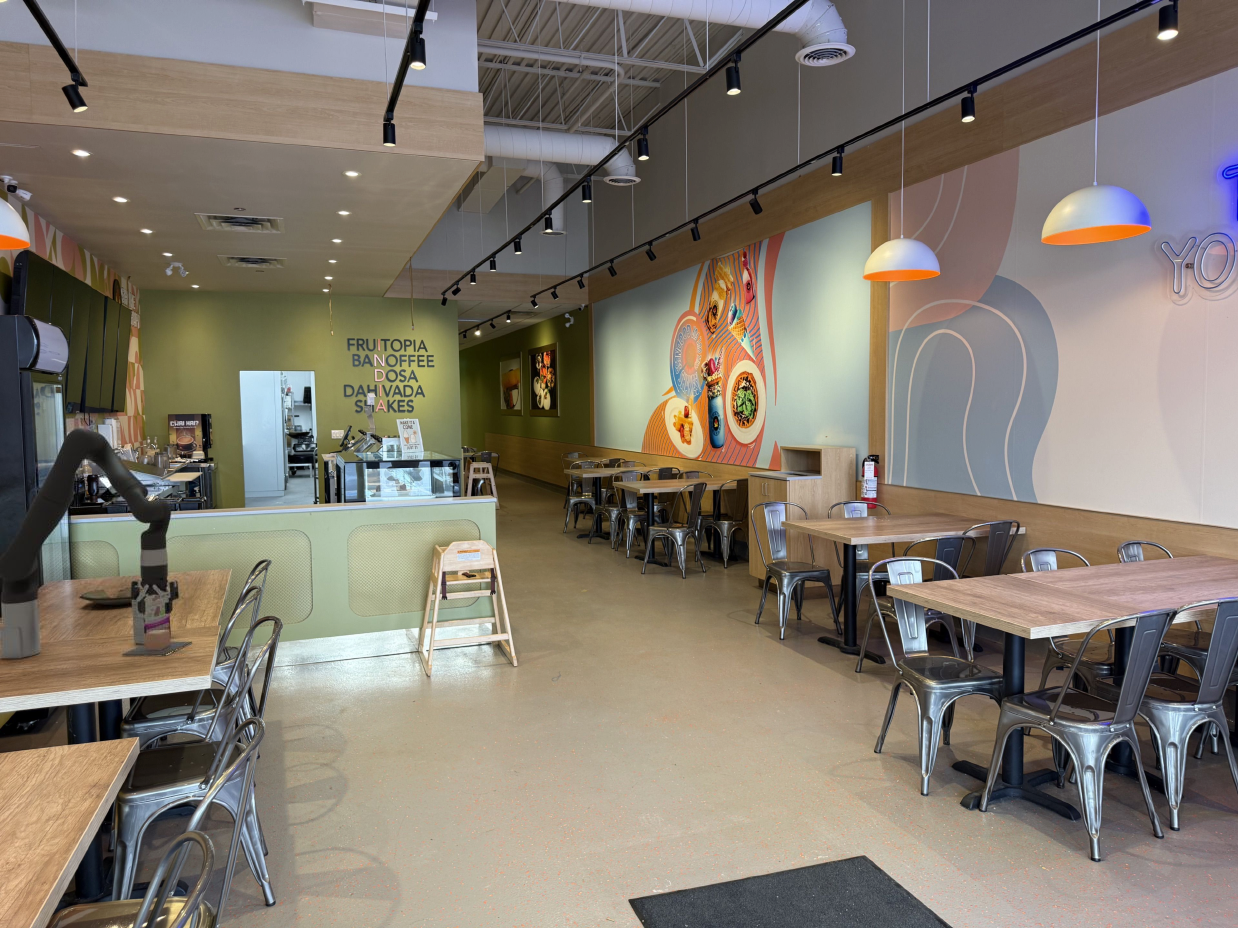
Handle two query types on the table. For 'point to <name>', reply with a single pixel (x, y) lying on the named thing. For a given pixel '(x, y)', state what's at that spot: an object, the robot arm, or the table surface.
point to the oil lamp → (104, 599)
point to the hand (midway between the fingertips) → (155, 613)
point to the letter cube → (157, 639)
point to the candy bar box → (149, 617)
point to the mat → (164, 651)
